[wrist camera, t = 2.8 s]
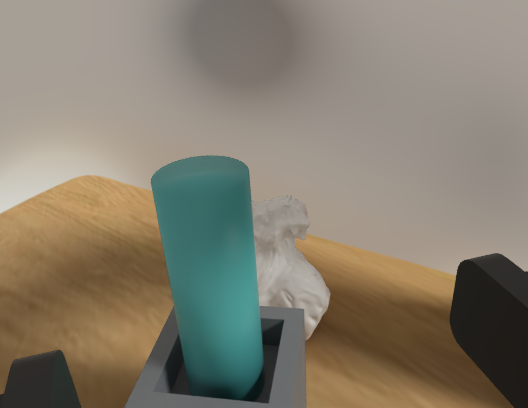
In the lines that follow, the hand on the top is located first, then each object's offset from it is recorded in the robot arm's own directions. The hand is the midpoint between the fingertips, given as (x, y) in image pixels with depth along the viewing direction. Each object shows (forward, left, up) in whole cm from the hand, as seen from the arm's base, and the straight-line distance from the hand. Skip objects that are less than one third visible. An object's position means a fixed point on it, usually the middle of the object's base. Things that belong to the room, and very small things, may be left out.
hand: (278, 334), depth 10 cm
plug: (-10, -5, -13) cm, 18 cm away
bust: (-25, -5, -22) cm, 34 cm away
